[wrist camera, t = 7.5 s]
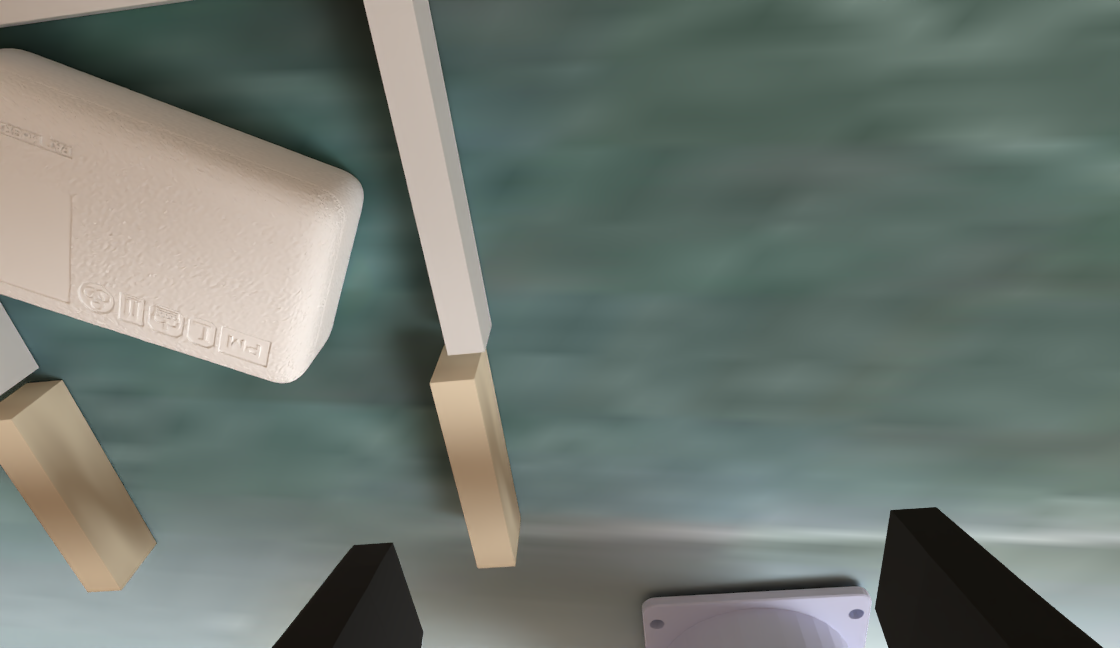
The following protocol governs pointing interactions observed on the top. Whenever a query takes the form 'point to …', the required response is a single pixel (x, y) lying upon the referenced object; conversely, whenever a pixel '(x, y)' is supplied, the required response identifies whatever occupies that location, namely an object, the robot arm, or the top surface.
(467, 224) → the white frame
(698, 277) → the top surface
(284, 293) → the soap
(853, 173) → the top surface
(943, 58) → the top surface
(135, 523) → the slot
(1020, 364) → the top surface
